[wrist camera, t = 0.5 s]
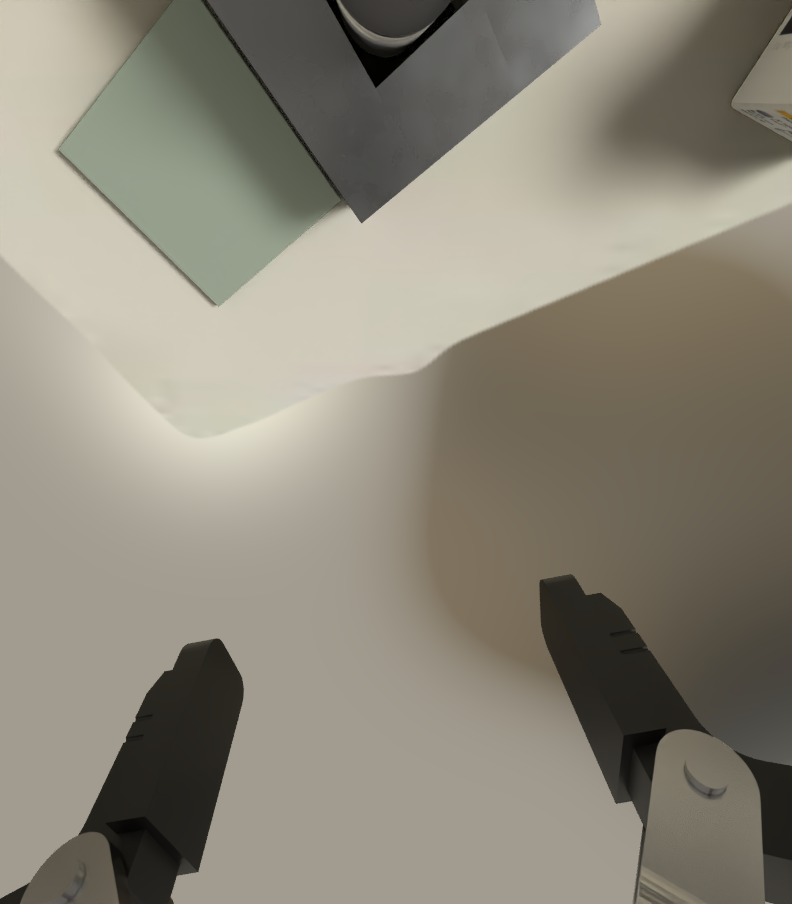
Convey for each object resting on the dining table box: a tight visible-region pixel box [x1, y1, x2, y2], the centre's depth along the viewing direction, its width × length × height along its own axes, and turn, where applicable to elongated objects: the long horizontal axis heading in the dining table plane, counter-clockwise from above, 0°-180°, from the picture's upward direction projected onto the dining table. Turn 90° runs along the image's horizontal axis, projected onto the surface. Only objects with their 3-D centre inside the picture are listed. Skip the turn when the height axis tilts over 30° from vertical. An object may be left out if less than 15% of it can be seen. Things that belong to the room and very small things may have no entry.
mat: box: [58, 0, 341, 307], centre depth 27 cm, size 12×12×1 cm
